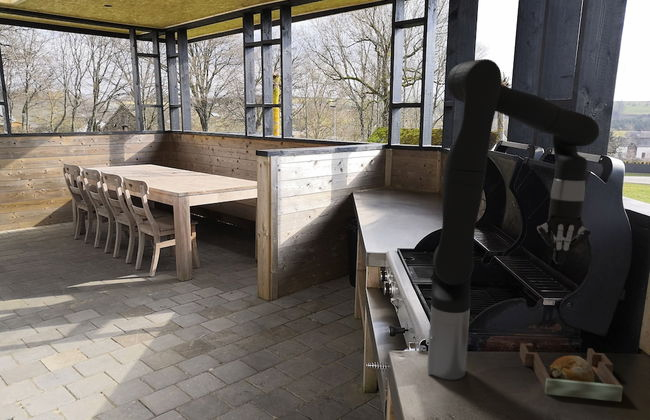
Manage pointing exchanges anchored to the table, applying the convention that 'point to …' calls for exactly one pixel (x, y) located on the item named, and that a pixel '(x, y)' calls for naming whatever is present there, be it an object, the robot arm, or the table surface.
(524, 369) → the table surface
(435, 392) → the table surface
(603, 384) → the box
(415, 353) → the table surface
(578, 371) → the bread roll
